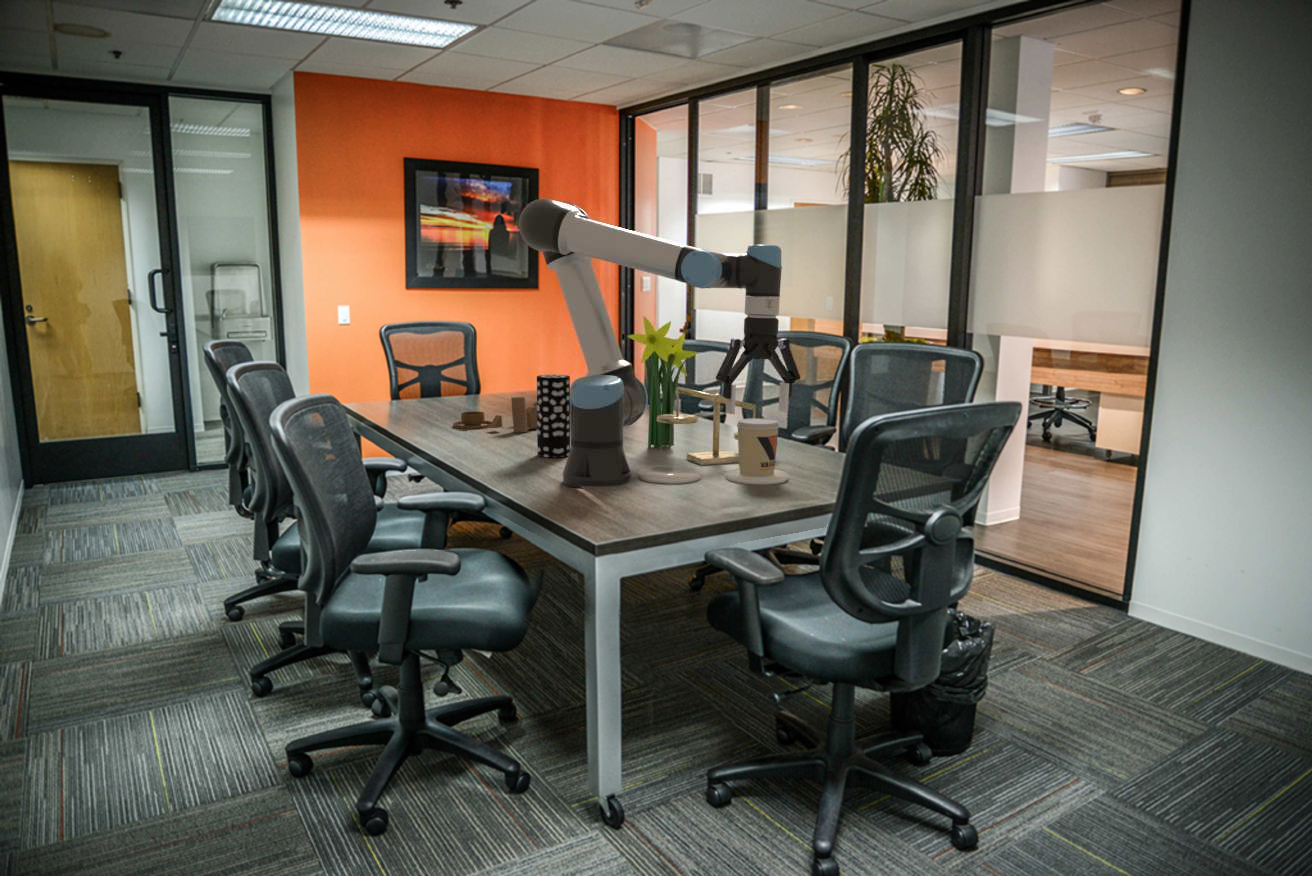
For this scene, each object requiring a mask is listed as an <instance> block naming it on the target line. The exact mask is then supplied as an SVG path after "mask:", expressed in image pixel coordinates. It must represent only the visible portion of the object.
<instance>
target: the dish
mask: <svg viewBox="0 0 1312 876" xmlns="http://www.w3.org/2000/svg"><path fill="white" fill-rule="evenodd" d="M725 479H726V480H728V481H730V482H733V483H738V484H744V485H752V486H753V485H756V486H758V485H759V486H765V485H767V486H768V485H779V484H783V483H786V482H788V480H789V473H787V472H785V471H783V470H779V469H774V474H773V475H772V476H768V477H750V476H744V475H741V474H740V469H739V467H737V468H732V469H728V470H726V471H725Z"/></svg>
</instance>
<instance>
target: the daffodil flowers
mask: <svg viewBox="0 0 1312 876" xmlns="http://www.w3.org/2000/svg"><path fill="white" fill-rule="evenodd" d="M642 317H643V318H642V319H643V327H644V331H645V334H643V333H641V334H640V333H636V334H635V333H634V334H629V335H627V338H629V339H631V340H633V341H635V342H637V343H640V344H642V345H644V346H645V348H644V351H643V353H642V357H641V362H640V363H641V364H644V362H645V367H646V377H647V389H648V391H647V394H648V405H649V407H648V410H649V412H648V413H649V414H648V415H649V416H648V430H647V431H648V433H647V435H648V436H647V449H652V446H653V447H654V448H657V449H661V448H663V447H664V446H665V447H666V446H668V448H671V447H673V446H675V424H668V423H661V422H658V421H657V416H658V415H664V414H674V412H675V411H674V410H675V404H676V403H675V402H676V397H677V391H676V390H677V387H678V385H679V384H678V383H679V379H680V374H681V373H682V374H683V376H685V377H688V374H687V371H686V369H685V366H684V365H685V363H687V361H688V359H690V358H692V357H693V356H696V355H697V354H699V352H698V351H693V350H691V351H690V350H684V349H683V345H684V342H685V336H686V333H685V332H684V333H682V335H680V336H679V337H678V339H673V338H670V337H666V335H667V334H668V333H669V331H670V327H671V324H672V322H671V321H669V322H667V323H665V324H664V325H663V326H661V327H659V328H658V329H657V330H655V328H654V326H653V324H652V323H651V322H650V320H649V319H648V318H647V317H646V316H642ZM652 355H653V358H652V357H651V356H652ZM649 357H650V361H651V363H650V361H649ZM683 360H684V361H683ZM659 361H660V363H659ZM682 361H683V362H682ZM659 364H660V366H659ZM673 366H674V367H673ZM675 368H677V369H678V370H677V373H676V375H675V377H674V380H673V374H674V372H675ZM661 393H662V398H661Z"/></svg>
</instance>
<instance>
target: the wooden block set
mask: <svg viewBox="0 0 1312 876" xmlns="http://www.w3.org/2000/svg"><path fill="white" fill-rule="evenodd" d="M526 405H527V404H526V397H525V396H513V397H511V410H512V411H511V414H512V425H513V426H512V428H513V433H515V434H520V433H522V434H524V433H527V432H528V429H535V428H537V402H534V403H533V406H527V407H526ZM502 417H503V416H502V415H499V414H498V415H495V416H494V418H493V419H492V421H491V422H492V423H491V424H490V426H489V427H488V428H487V429H498V428H503V418H502Z"/></svg>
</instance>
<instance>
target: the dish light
mask: <svg viewBox="0 0 1312 876" xmlns="http://www.w3.org/2000/svg"><path fill="white" fill-rule="evenodd" d="M638 478H639V479H640V480H641V481H645V482H648V483H655V484H667V485H668V484H669V485H671V484H672V485H673V484H674V485H675V484H676V485H677V484H688V483H689V484H690V483H694V482H697V481H700V479H701V472H700V471H699V470H697V469H693V468H690V467H689V468H688V467H682V466H681V467H680V466H654V467H653V466H652V467H647V468H643V469H641V470H639V471H638Z"/></svg>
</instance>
